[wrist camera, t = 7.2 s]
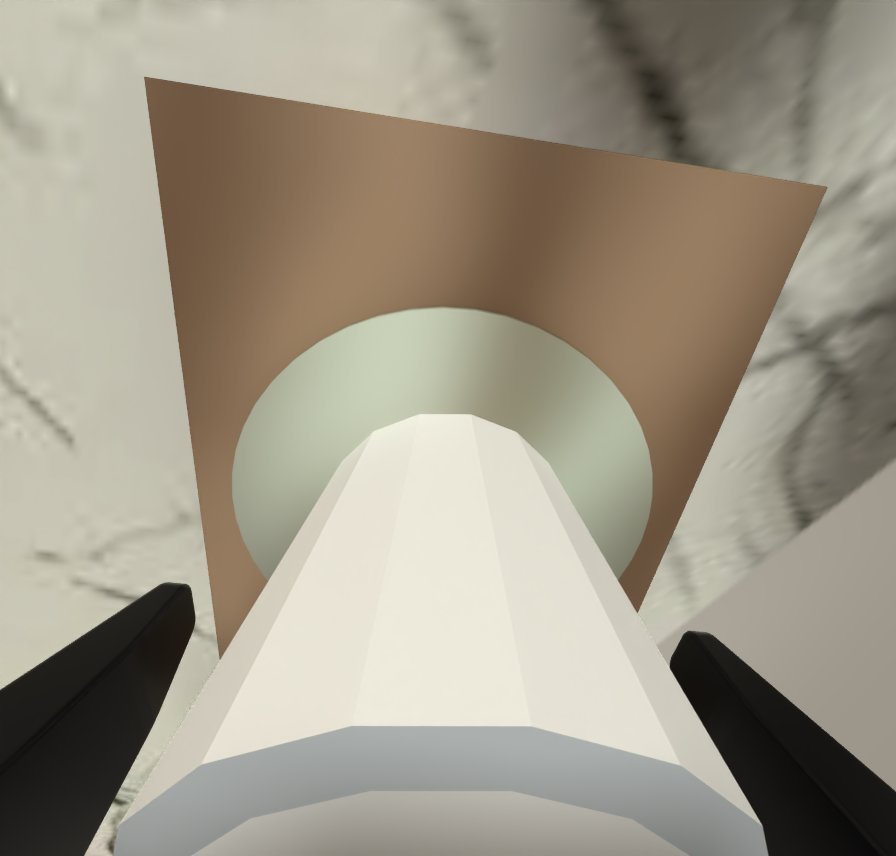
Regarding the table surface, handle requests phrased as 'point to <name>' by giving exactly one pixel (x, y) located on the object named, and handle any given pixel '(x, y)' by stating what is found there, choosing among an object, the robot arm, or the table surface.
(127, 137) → the table surface
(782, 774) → the robot arm
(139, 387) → the table surface
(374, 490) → the white cup
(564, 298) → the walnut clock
